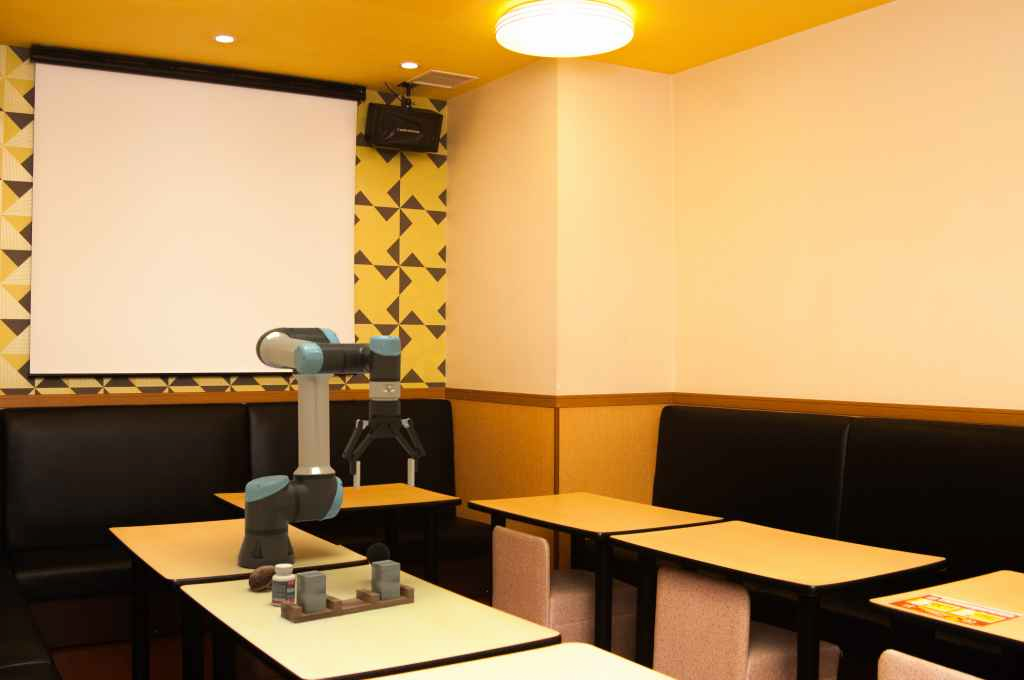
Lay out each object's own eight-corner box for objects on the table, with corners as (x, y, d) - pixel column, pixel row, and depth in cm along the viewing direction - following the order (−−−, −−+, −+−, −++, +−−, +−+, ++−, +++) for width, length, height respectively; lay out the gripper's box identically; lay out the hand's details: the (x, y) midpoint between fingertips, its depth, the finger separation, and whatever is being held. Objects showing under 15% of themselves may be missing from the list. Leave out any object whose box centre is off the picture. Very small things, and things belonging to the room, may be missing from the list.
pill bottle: (289, 607, 229) (289, 568, 229) (267, 606, 230) (268, 567, 230) (298, 601, 234) (299, 563, 234) (277, 600, 235) (278, 562, 235)
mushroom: (289, 572, 250) (274, 554, 248) (279, 592, 242) (264, 573, 241) (264, 585, 252) (249, 567, 250) (254, 605, 245) (238, 586, 243)
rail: (280, 616, 222) (281, 574, 222) (397, 595, 240) (398, 557, 240) (295, 623, 216) (295, 580, 216) (413, 602, 235) (414, 562, 235)
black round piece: (388, 585, 250) (388, 545, 250) (364, 585, 251) (364, 545, 251) (391, 580, 256) (391, 540, 256) (368, 580, 256) (368, 540, 256)
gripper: (338, 400, 234) (337, 491, 234) (438, 399, 245) (438, 486, 245) (330, 399, 241) (329, 487, 241) (428, 397, 251) (427, 482, 251)
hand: (384, 487), depth 243 cm, fingers open, 13 cm apart
